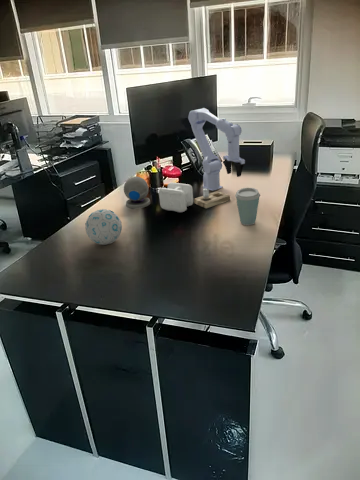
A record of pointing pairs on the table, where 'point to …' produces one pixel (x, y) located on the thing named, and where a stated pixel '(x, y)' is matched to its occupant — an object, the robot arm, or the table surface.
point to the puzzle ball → (103, 226)
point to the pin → (205, 194)
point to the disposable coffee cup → (247, 205)
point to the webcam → (136, 192)
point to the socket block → (212, 199)
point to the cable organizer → (176, 197)
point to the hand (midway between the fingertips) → (233, 174)
